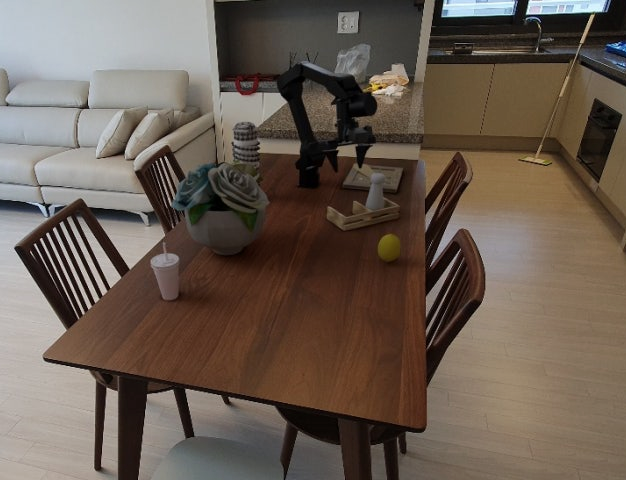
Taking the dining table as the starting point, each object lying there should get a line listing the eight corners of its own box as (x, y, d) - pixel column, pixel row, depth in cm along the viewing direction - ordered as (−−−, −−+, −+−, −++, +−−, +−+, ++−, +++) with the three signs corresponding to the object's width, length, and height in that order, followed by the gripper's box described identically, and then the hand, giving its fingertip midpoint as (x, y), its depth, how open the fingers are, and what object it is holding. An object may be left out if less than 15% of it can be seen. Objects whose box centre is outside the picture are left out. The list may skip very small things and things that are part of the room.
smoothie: (171, 306, 104) (163, 251, 96) (150, 298, 107) (140, 245, 99) (189, 292, 108) (182, 239, 101) (169, 285, 111) (161, 233, 104)
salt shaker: (382, 211, 145) (387, 171, 138) (384, 218, 141) (389, 177, 134) (363, 210, 146) (367, 171, 139) (365, 218, 141) (369, 177, 134)
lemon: (399, 258, 120) (403, 230, 115) (397, 268, 115) (401, 240, 111) (377, 255, 121) (381, 228, 117) (374, 265, 117) (378, 237, 112)
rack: (326, 218, 142) (327, 206, 139) (378, 207, 148) (380, 195, 146) (344, 231, 134) (345, 218, 132) (398, 218, 141) (400, 205, 138)
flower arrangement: (254, 278, 113) (250, 182, 100) (165, 262, 121) (151, 172, 108) (284, 235, 133) (285, 151, 119) (206, 224, 140) (199, 144, 127)
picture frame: (354, 167, 182) (342, 188, 163) (354, 163, 181) (342, 183, 162) (402, 171, 176) (396, 193, 158) (403, 167, 175) (396, 188, 157)
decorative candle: (256, 205, 152) (254, 127, 139) (230, 202, 155) (225, 126, 141) (265, 195, 159) (263, 120, 146) (240, 192, 162) (236, 119, 148)
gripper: (335, 120, 132) (338, 175, 137) (387, 114, 139) (388, 167, 144) (315, 122, 141) (318, 174, 146) (364, 116, 148) (366, 166, 153)
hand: (348, 170), depth 147 cm, fingers open, 9 cm apart
